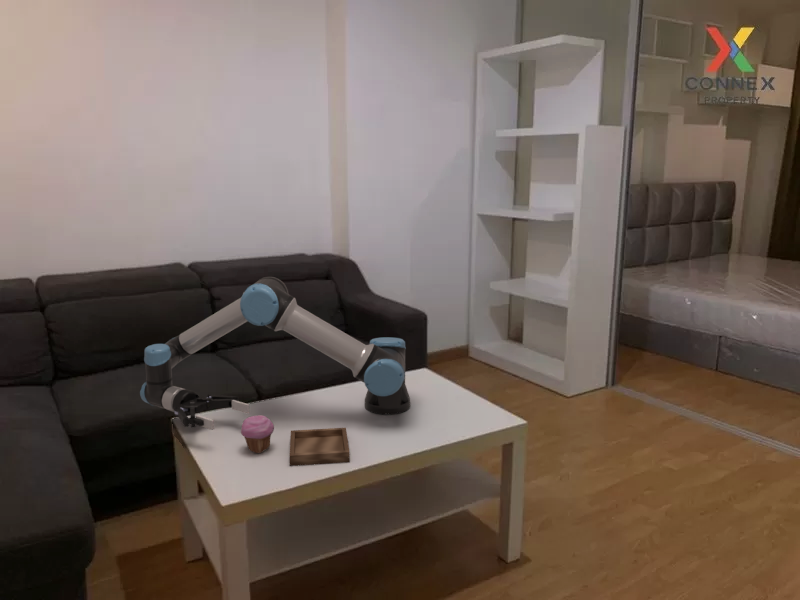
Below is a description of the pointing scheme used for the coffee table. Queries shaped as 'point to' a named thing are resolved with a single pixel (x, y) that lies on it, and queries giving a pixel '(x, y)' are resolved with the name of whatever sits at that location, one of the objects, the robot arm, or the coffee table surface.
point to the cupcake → (257, 433)
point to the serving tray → (319, 446)
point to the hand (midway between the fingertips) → (231, 416)
